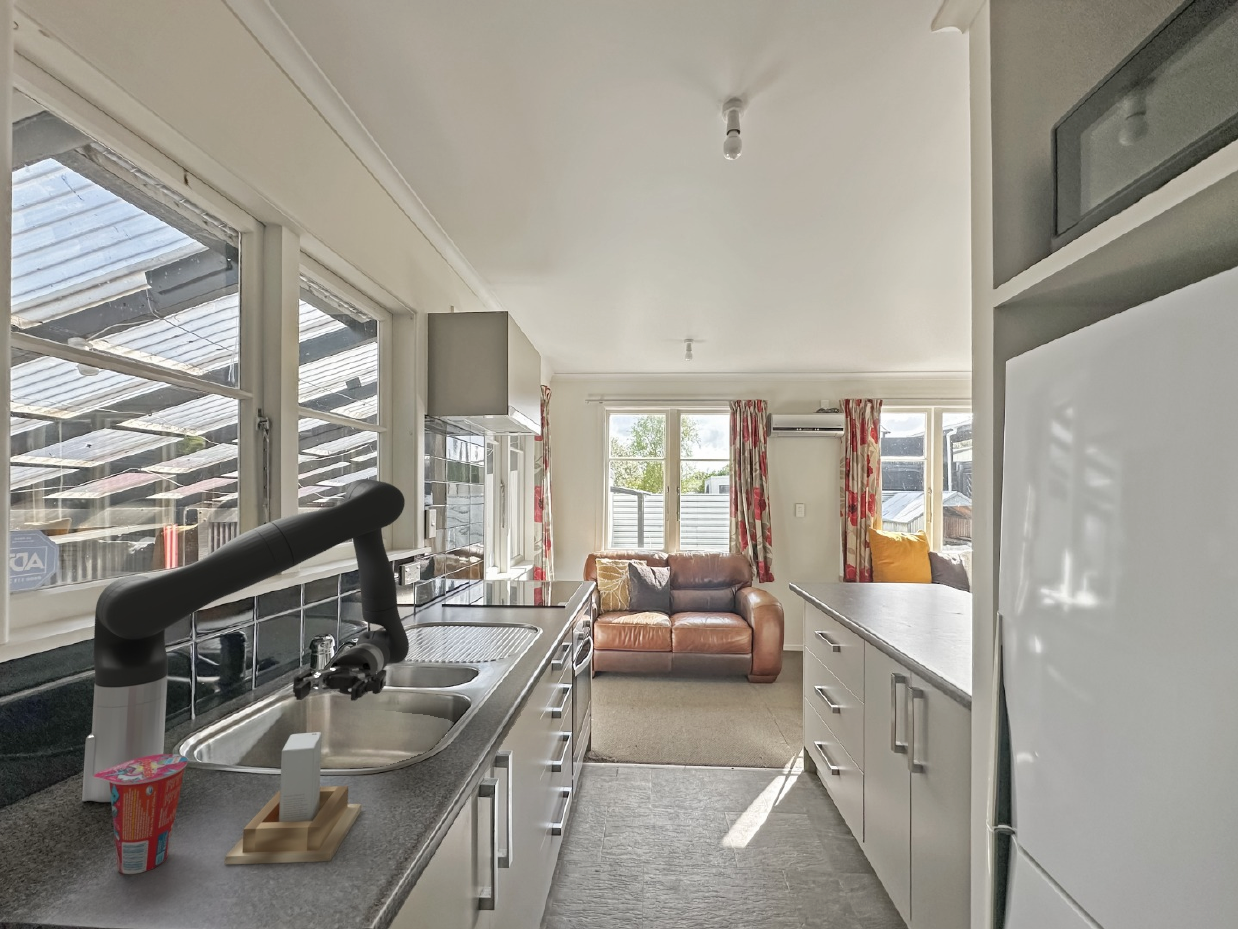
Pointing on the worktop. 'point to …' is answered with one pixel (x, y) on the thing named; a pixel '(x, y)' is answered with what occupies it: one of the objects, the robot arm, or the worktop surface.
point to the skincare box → (300, 778)
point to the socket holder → (296, 832)
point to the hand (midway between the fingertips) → (326, 694)
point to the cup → (144, 808)
